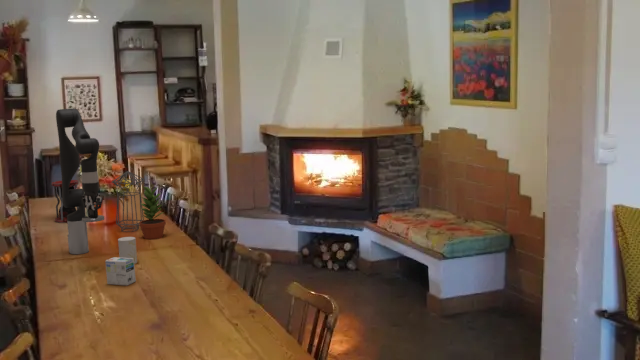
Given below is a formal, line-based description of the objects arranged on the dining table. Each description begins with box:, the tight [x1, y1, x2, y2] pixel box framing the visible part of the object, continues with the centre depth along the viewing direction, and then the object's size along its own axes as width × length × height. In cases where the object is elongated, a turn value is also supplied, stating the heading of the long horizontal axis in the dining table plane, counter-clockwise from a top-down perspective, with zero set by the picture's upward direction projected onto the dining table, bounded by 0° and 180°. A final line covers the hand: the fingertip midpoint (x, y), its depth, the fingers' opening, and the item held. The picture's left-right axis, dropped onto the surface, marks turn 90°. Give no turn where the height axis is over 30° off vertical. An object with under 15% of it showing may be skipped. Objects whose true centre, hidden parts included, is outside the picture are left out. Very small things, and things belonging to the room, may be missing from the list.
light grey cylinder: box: [117, 236, 138, 265], centre depth 345 cm, size 8×8×12 cm
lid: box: [82, 208, 105, 223], centre depth 336 cm, size 10×10×5 cm
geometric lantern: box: [111, 171, 146, 233], centre depth 418 cm, size 16×16×35 cm
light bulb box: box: [104, 256, 137, 286], centre depth 312 cm, size 11×7×11 cm, turn 71°
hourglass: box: [51, 179, 79, 224], centre depth 454 cm, size 16×16×25 cm
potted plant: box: [138, 186, 167, 240], centre depth 398 cm, size 15×15×30 cm
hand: (93, 217), depth 336 cm, fingers closed on lid, 3 cm apart
